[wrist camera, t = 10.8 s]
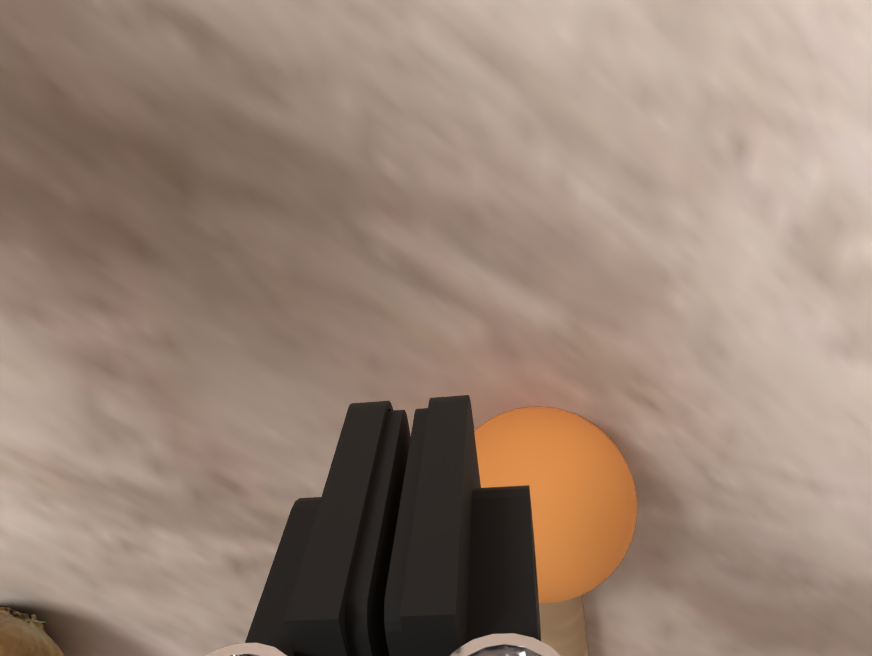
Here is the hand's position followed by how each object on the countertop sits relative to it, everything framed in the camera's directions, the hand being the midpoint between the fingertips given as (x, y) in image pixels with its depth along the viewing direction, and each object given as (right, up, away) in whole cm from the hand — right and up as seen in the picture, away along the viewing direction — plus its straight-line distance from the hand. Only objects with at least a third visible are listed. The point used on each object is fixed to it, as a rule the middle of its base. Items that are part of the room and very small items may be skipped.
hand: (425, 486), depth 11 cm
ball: (+3, -3, +14) cm, 15 cm away
